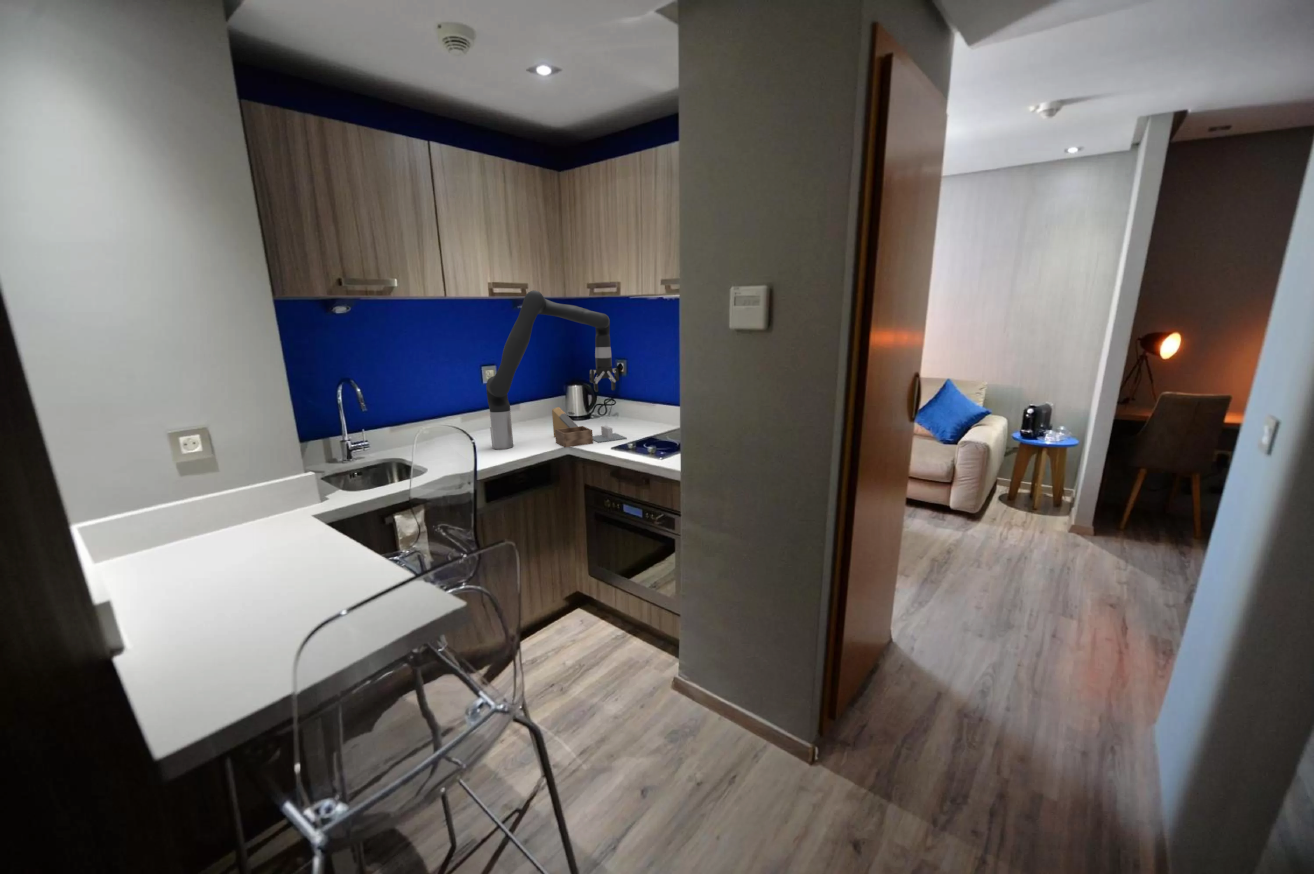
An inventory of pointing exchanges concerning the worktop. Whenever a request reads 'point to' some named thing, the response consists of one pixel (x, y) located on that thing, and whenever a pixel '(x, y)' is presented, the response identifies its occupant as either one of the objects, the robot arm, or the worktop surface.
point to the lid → (607, 435)
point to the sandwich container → (561, 420)
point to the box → (574, 436)
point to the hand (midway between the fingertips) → (604, 390)
